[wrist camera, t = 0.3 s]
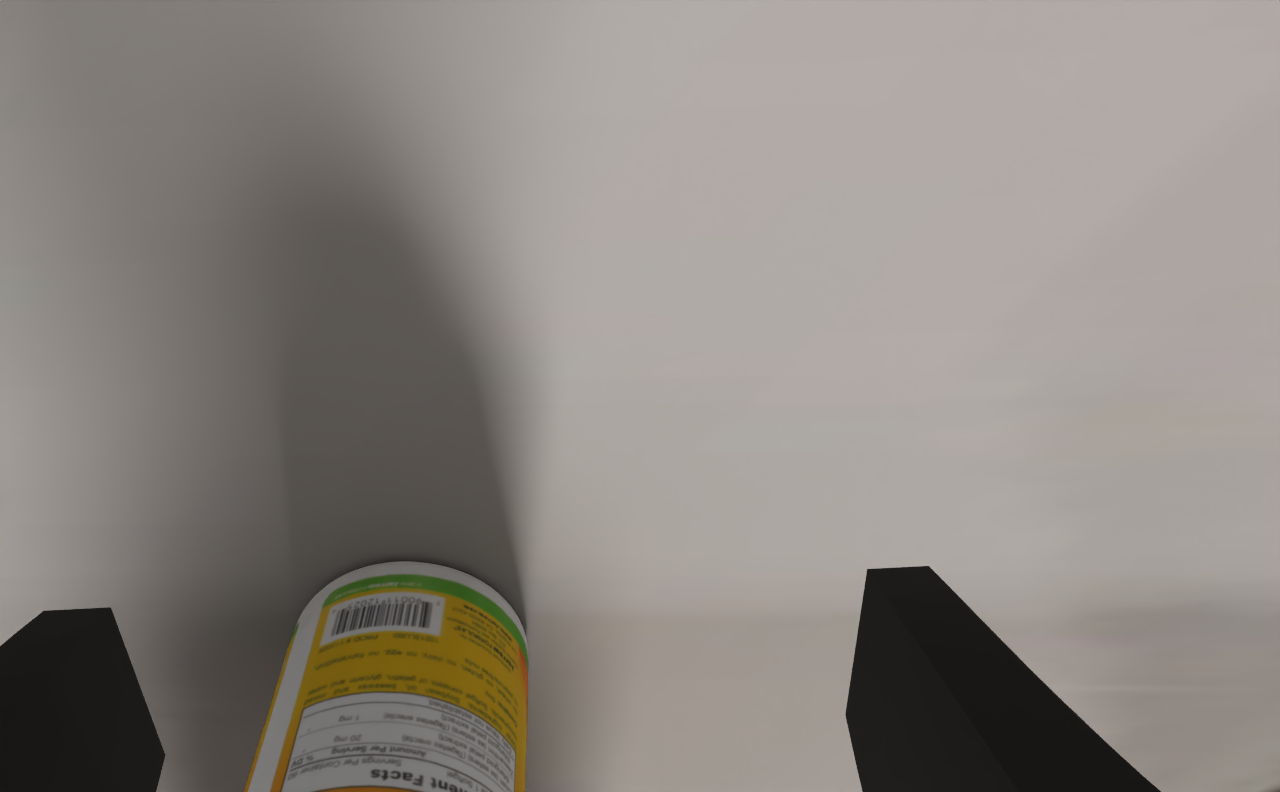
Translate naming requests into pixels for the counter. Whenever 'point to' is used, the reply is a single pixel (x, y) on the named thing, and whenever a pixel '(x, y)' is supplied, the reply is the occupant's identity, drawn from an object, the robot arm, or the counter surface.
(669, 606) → the counter surface
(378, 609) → the supplement bottle
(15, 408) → the counter surface
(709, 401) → the counter surface
